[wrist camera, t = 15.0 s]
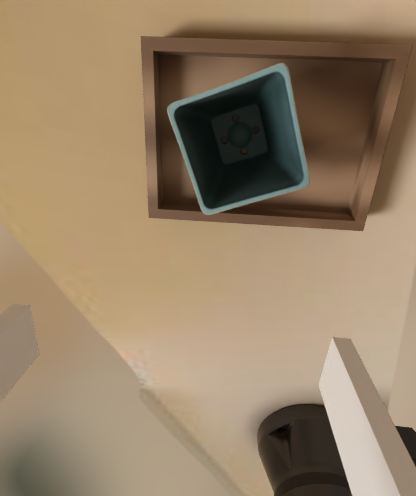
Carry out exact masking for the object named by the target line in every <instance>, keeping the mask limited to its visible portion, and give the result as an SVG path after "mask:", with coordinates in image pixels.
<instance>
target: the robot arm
mask: <svg viewBox="0 0 416 496" xmlns="http://www.w3.org/2000/svg"><path fill="white" fill-rule="evenodd" d="M38 355H39V350H38V344H37V339H36V334H35V329H34V324H33V319H32V313H31V308H30V305H20V304H12V305H11V306H10V307H9V308H8V309H7V310H6V311H4V312H3V313H2V314H1V315H0V403H1V401H2V400H3V399H4V398H5V396H6V395H7V394H8V393H9V391H10V390H11V389H12V388H13V386H14V385H15V384H16V383H17V381H18V380H19V379H20V378H21V376H22V375H23V374H24V373H25V371H26V370H27V369H28V368H29V366H30V365H31V364H32V363H33V361H34V360H35V359H36V358H37V356H38ZM319 388H320V392H321V395H322V398H323V402H324V405H325V407H322V406H317V405H296V406H291V407H287V408H283V409H281V410H278V411H276V412H274V413H273V414H271V415H270V416H268V417H267V418H266V419H265V420H264V421H263V422H262V424H261V425H260V427H259V430H258V435H257V438H258V451H259V455H260V458H261V461H262V463H263V466H264V468H265V471H266V473H267V476H268V478H269V481H270V484H271V486H272V489H273V491H274V496H416V432H415V431H414V430H413V429H412V428H409V427H400V426H395V425H394V423H393V422H392V420H391V417H390V416H389V413H388V411H387V410H386V408H385V406H384V404H383V402H382V400H381V398H380V396H379V394H378V392H377V390H376V388H375V386H374V384H373V382H372V380H371V378H370V376H369V374H368V372H367V370H366V368H365V366H364V364H363V362H362V360H361V358H360V356H359V354H358V352H357V350H356V348H355V346H354V344H353V343H352V341H351V339H346V338H336V337H332V340H331V343H330V347H329V350H328V354H327V357H326V361H325V364H324V368H323V371H322V375H321V378H320V382H319Z"/></svg>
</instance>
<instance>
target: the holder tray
mask: <svg viewBox="0 0 416 496" xmlns="http://www.w3.org/2000/svg"><path fill="white" fill-rule="evenodd" d="M412 46H413V45H403V44H372V43H340V42H308V41H276V40H244V39H212V38H180V37H148V36H141V52H142V75H143V97H144V120H145V142H146V165H147V187H148V210H149V218H162V219H178V220H194V221H210V222H226V223H242V224H258V225H274V226H290V227H306V228H322V229H338V230H354V231H363V230H364V226H365V222H366V218H367V215H368V211H369V207H370V203H371V200H372V196H373V192H374V188H375V185H376V181H377V177H378V173H379V170H380V166H381V162H382V158H383V155H384V151H385V147H386V143H387V140H388V136H389V132H390V128H391V124H392V121H393V117H394V113H395V109H396V106H397V102H398V98H399V94H400V91H401V87H402V83H403V79H404V76H405V72H406V68H407V64H408V61H409V57H410V53H411V49H412ZM279 63H285V64H286V65H287V67H288V69H289V72H290V77H291V83H292V89H293V94H294V100H295V105H296V111H297V116H298V122H299V127H300V133H301V137H302V142H303V147H304V152H305V157H306V161H307V166H308V170H309V175H310V184H309V185H308V186H307V187H306V188H304V189H301V190H297V191H294V192H290V193H286V194H283V195H279V196H275V197H271V198H268V199H264V200H261V201H257V202H254V203H250V204H247V205H243V206H239V207H236V208H232V209H229V210H225V211H223V212H219V213H216V214H212V215H205V214H204V213H203V212H202V210H201V208H200V205H199V202H198V199H197V196H196V193H195V190H194V186H193V184H192V181H191V178H190V175H189V172H188V169H187V166H186V164H185V160H184V158H183V155H182V152H181V149H180V146H179V144H178V141H177V139H176V136H175V133H174V130H173V127H172V125H171V122H170V119H169V116H168V113H167V108H168V106H169V105H170V104H171V103H173V102H176V101H178V100H182V99H184V98H187V97H190V96H194V95H196V94H199V93H202V92H205V91H207V90H210V89H213V88H216V87H218V86H221V85H224V84H227V83H230V82H232V81H235V80H238V79H240V78H243V77H245V76H248V75H250V74H253V73H256V72H258V71H261V70H263V69H266V68H268V67H271V66H273V65H276V64H279ZM233 120H234V121H237V120H238V116H237V115H235V116H233ZM258 130H259V129H258V127H254V128H253V131H254V132H258ZM226 141H227V139H226V138H225V137H223V138H222V142H223V143H225V142H226ZM246 152H247V149H246V148H243V149H242V153H246Z"/></svg>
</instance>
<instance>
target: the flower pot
mask: <svg viewBox="0 0 416 496" xmlns="http://www.w3.org/2000/svg"><path fill="white" fill-rule="evenodd" d="M167 113H168V116H169V119H170V122H171V125H172V127H173V130H174V133H175V136H176V139H177V141H178V144H179V146H180V149H181V152H182V155H183V158H184V160H185V164H186V166H187V169H188V172H189V175H190V178H191V181H192V184H193V186H194V190H195V193H196V196H197V199H198V202H199V205H200V208H201V210H202V212H203V213H204V214H205V215H212V214H216V213H219V212H223V211H225V210H229V209H232V208H236V207H239V206H243V205H247V204H250V203H254V202H257V201H261V200H264V199H268V198H271V197H275V196H279V195H283V194H286V193H290V192H294V191H297V190H301V189H304V188H306V187H307V186H308V185H309V184H310V175H309V170H308V166H307V161H306V157H305V152H304V147H303V142H302V137H301V133H300V127H299V122H298V116H297V111H296V105H295V100H294V94H293V89H292V83H291V77H290V72H289V69H288V67H287V65H286V64H285V63H279V64H276V65H273V66H271V67H268V68H266V69H263V70H261V71H258V72H256V73H253V74H250V75H248V76H245V77H243V78H240V79H238V80H235V81H232V82H230V83H227V84H224V85H221V86H218V87H216V88H213V89H210V90H207V91H205V92H202V93H199V94H196V95H194V96H190V97H187V98H184V99H182V100H178V101H176V102H173V103H171V104H170V105H169V106H168V108H167ZM235 115H237V116H238V120H237V121H234V120H233V116H235ZM254 127H258V129H259V130H258V132H254V131H253V128H254ZM223 137H225V138H226V139H227V141H226V142H225V143H223V142H222V138H223ZM243 148H246V149H247V152H246V153H242V149H243Z"/></svg>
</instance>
